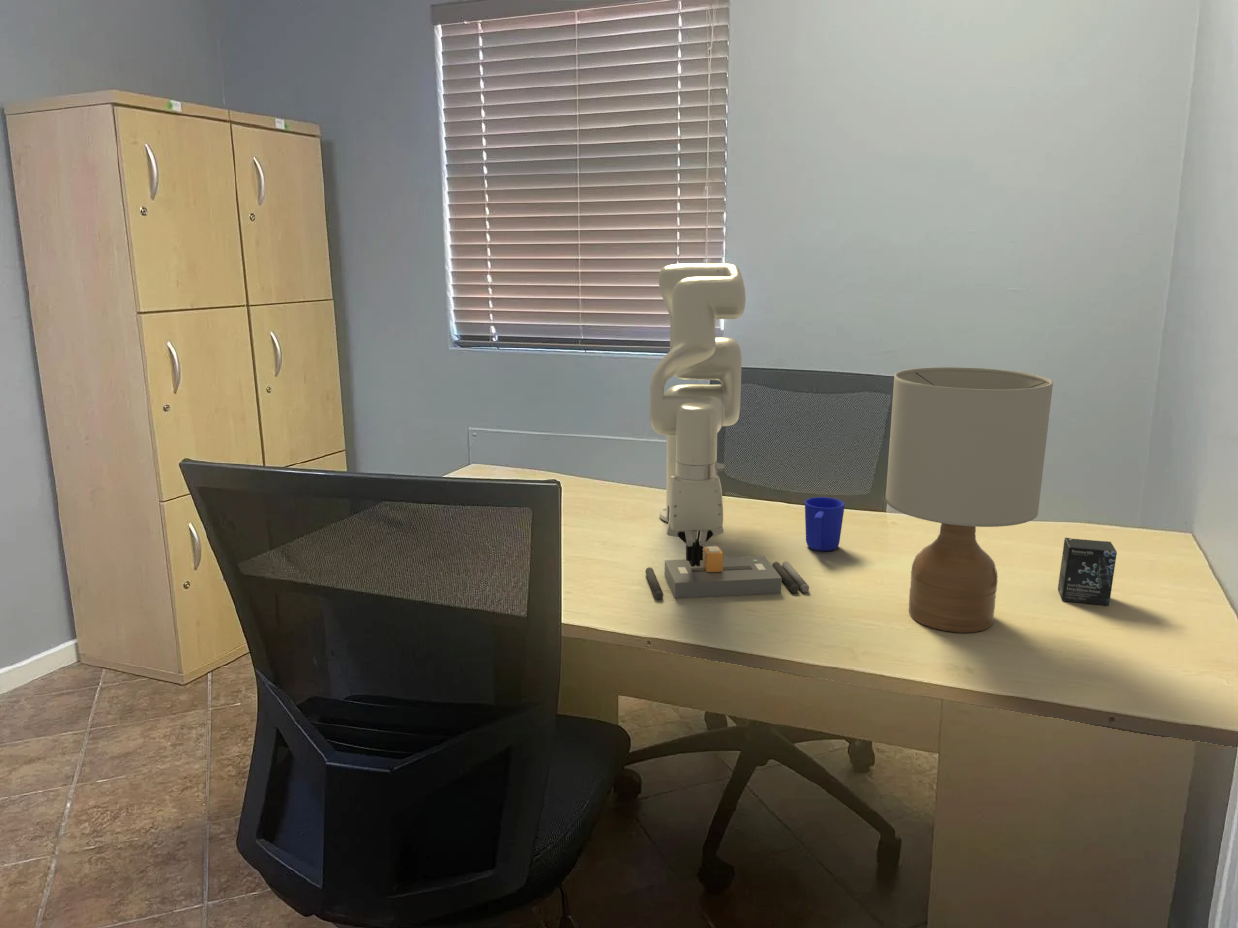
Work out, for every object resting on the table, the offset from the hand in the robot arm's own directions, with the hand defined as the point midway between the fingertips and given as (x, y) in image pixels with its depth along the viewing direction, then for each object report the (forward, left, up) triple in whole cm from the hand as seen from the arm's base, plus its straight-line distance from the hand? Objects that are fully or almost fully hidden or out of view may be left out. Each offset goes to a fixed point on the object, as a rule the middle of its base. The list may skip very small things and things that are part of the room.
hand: (694, 563), depth 171 cm
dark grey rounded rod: (0, -8, -4) cm, 9 cm away
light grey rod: (0, +20, -4) cm, 20 cm away
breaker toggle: (0, +4, -1) cm, 4 cm away
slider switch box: (0, +5, -4) cm, 7 cm away
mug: (-16, +30, -4) cm, 35 cm away
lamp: (+20, +41, -4) cm, 46 cm away
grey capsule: (0, +18, -4) cm, 18 cm away
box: (+15, +69, -4) cm, 71 cm away
